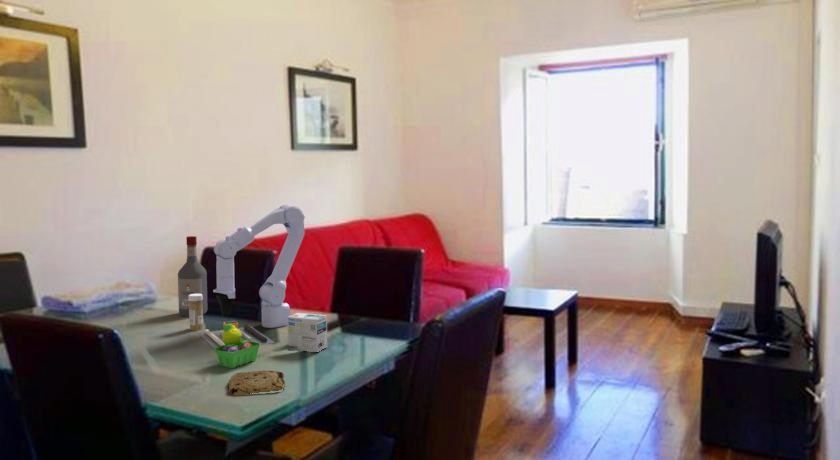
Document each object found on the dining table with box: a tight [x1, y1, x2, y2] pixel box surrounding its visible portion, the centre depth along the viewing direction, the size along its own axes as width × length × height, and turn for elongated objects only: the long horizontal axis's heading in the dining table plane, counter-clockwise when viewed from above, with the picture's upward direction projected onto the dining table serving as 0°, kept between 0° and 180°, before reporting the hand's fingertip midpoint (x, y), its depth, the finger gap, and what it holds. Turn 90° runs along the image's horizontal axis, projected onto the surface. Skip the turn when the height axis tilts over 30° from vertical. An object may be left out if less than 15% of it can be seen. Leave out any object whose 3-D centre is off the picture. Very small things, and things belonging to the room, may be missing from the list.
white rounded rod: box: [204, 329, 225, 346], centre depth 199 cm, size 1×21×1 cm, turn 33°
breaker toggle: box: [223, 320, 239, 329], centre depth 206 cm, size 4×3×4 cm
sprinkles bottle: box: [188, 294, 204, 332], centre depth 212 cm, size 5×5×14 cm
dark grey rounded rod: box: [243, 324, 268, 342], centre depth 206 cm, size 1×21×1 cm, turn 33°
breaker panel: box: [197, 325, 276, 350], centre depth 202 cm, size 18×24×2 cm
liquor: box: [177, 235, 208, 317], centre depth 240 cm, size 9×9×30 cm
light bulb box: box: [287, 312, 328, 353], centre depth 195 cm, size 11×7×11 cm, turn 71°
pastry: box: [228, 369, 286, 397], centre depth 163 cm, size 17×17×3 cm
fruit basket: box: [213, 324, 261, 369], centre depth 181 cm, size 11×9×11 cm
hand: (226, 315), depth 210 cm, fingers closed
